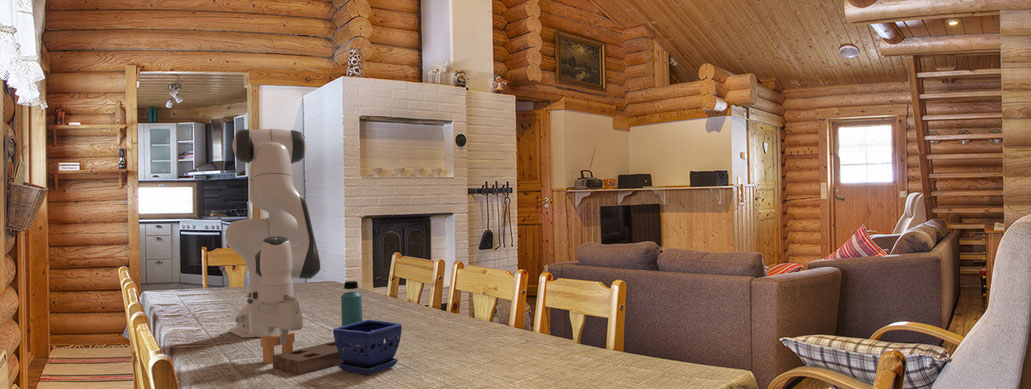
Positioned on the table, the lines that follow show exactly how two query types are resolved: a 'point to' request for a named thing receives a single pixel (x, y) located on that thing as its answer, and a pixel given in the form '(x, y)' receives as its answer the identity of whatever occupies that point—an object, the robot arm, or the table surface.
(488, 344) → the table surface
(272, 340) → the tan two-pronged block
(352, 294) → the beverage bottle
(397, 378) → the table surface
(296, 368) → the block with square holes
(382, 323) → the flower pot
